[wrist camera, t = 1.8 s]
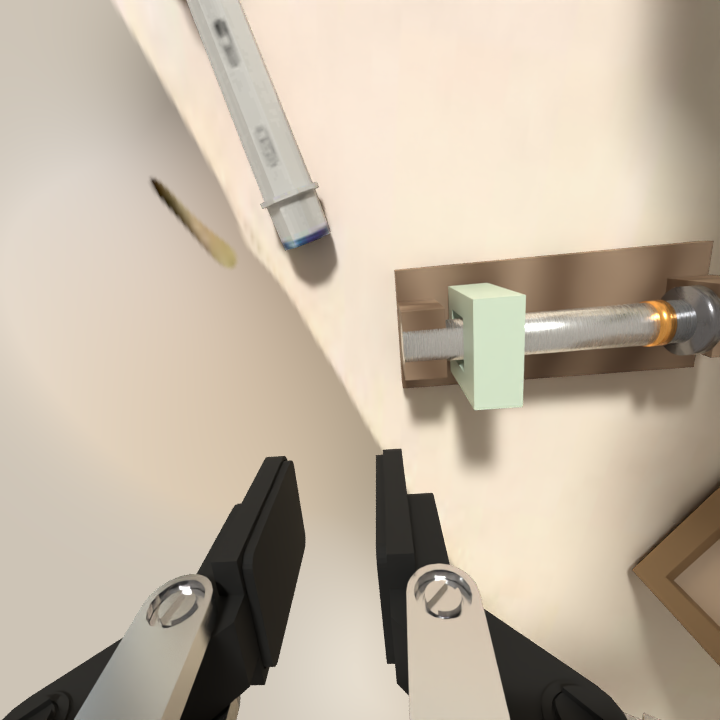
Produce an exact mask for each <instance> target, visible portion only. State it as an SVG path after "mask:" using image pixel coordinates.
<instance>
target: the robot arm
mask: <svg viewBox="0 0 720 720" xmlns="http://www.w3.org/2000/svg"><path fill="white" fill-rule="evenodd" d="M304 549H305V530H304V525H303V518H302V512H301V506H300V501H299V494H298V488H297V481H296V476H295V469H294V464H293V461H287V458H286V457H285V456H278V457H267V458H265V460H264V462H263V464H262V466H261V468H260V469H259V471H258V473H257V475H256V477H255V479H254V481H253V483H252V485H251V486H250V488H249V490H248V492H247V494H246V496H245V498H244V500H243V502H242V503H241V504H237V505H235V506H234V508H233V509H232V511H231V513H230V514H229V516H228V518H227V520H226V522H225V524H224V525H223V527H222V529H221V531H220V533H219V534H218V536H217V538H216V540H215V542H214V544H213V545H212V547H211V549H210V551H209V553H208V554H207V556H206V558H205V560H204V562H203V563H202V565H201V567H200V569H199V571H198V573H197V574H189V575H184V576H180V577H178V578H175V579H173V580H171V581H168V582H167V583H165V584H164V585H162V586H161V587H159V588H158V589H157V590H156V591H155V592H154V593H152V594H151V595H150V596H149V597H148V599H147V600H146V601H145V603H144V604H143V605H142V607H141V609H140V610H139V612H138V614H137V615H136V617H135V619H134V620H133V622H132V624H131V625H130V627H129V629H128V630H127V632H126V634H125V635H124V637H123V638H122V639H120V640H119V641H117V642H115V643H114V644H112V645H111V646H109V647H107V648H106V649H104V650H103V651H101V652H100V653H98V654H96V655H95V656H93V657H92V658H90V659H89V660H87V661H86V662H84V663H82V664H81V665H79V666H78V667H76V668H75V669H73V670H72V671H70V672H68V673H67V674H65V675H64V676H62V677H60V678H59V679H57V680H56V681H54V682H53V683H51V684H49V685H48V686H46V687H45V688H43V689H42V690H40V691H38V692H37V693H35V694H34V695H32V696H31V697H29V698H28V699H26V700H25V701H24V702H22V703H21V704H20V705H18V706H17V707H16V708H14V709H13V710H12V711H11V712H10V713H9V714H8V715H7V716H6V717H5V718H4V719H3V720H236V719H237V715H238V711H239V706H240V695H241V694H242V693H243V692H244V691H245V690H246V689H247V688H249V687H250V685H265V682H266V678H267V674H268V671H269V667H275V666H276V665H277V662H278V658H279V654H280V650H281V646H282V642H283V637H284V633H285V629H286V625H287V621H288V617H289V612H290V608H291V604H292V600H293V596H294V591H295V587H296V583H297V579H298V575H299V570H300V566H301V562H302V558H303V554H304ZM376 558H377V570H378V580H379V589H380V599H381V610H382V619H383V629H384V639H385V648H386V659H387V664H395V668H396V679H397V684H398V685H399V686H400V687H401V688H402V689H403V690H404V691H405V692H406V693H407V694H408V695H409V712H410V713H409V714H410V720H641V719H638V718H636V717H634V716H631V715H629V714H626V713H624V712H623V711H622V710H621V709H620V708H619V706H618V705H617V704H616V703H615V702H614V700H613V699H612V698H611V697H610V696H609V695H607V694H606V693H605V692H604V691H603V690H601V689H600V688H599V687H598V686H597V685H595V684H594V683H592V682H591V681H589V680H588V679H586V678H585V677H583V676H582V675H580V674H579V673H578V672H576V671H575V670H573V669H572V668H570V667H569V666H567V665H566V664H564V663H563V662H561V661H560V660H558V659H557V658H556V657H554V656H553V655H551V654H550V653H548V652H547V651H545V650H544V649H542V648H541V647H539V646H538V645H536V644H535V643H533V642H532V641H531V640H529V639H528V638H526V637H525V636H523V635H522V634H520V633H519V632H517V631H516V630H514V629H513V628H511V627H510V626H509V625H507V624H506V623H504V622H503V621H501V620H500V619H498V618H497V617H495V616H494V615H492V614H491V613H489V612H488V611H486V610H485V609H484V607H483V603H482V599H481V595H480V592H479V589H478V587H477V584H476V583H475V581H474V580H473V579H472V578H471V577H470V575H468V574H467V573H466V572H464V571H463V570H461V569H460V568H457V567H454V566H452V565H450V564H449V560H448V556H447V551H446V547H445V543H444V538H443V534H442V530H441V525H440V521H439V517H438V512H437V508H436V504H435V499H434V495H433V493H422V494H407V491H406V483H405V475H404V467H403V458H402V450H401V449H388V450H383V455H376ZM642 720H660V719H658V718H655V717H653V716H650V715H648V714H645V713H643V718H642Z"/></svg>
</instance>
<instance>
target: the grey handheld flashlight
mask: <svg viewBox="0 0 720 720" xmlns="http://www.w3.org/2000/svg"><path fill="white" fill-rule="evenodd" d="M186 1H187V3H188V6H189V8H190V11H191V13H192V16H193V19H194V21H195V24H196V26H197V29H198V32H199V34H200V37H201V39H202V42H203V44H204V47H205V50H206V52H207V55H208V57H209V60H210V62H211V65H212V68H213V70H214V73H215V75H216V78H217V81H218V83H219V86H220V88H221V91H222V93H223V96H224V99H225V101H226V104H227V106H228V109H229V111H230V114H231V117H232V119H233V122H234V124H235V127H236V130H237V132H238V135H239V137H240V140H241V142H242V145H243V148H244V150H245V153H246V155H247V158H248V161H249V163H250V166H251V168H252V171H253V173H254V176H255V179H256V181H257V184H258V186H259V189H260V191H261V194H262V197H263V199H264V203H262V204H260V205H261V207H262V209H264V208H267V209H268V211H269V214H270V216H271V218H272V221H273V223H274V225H275V228H276V230H277V232H278V235H279V237H280V239H281V242H282V244H283V246H284V249H285V251H286V250H289V249H293V248H296V247H299V246H301V245H304V244H307V243H309V242H312V241H314V240H317V239H319V238H321V237H323V236H325V235H328V234H330V232H331V231H330V228H329V226H328V223H327V220H326V217H325V215H324V212H323V209H322V207H321V204H320V201H319V199H318V196H317V193H316V191H315V189H316V188H318V187H319V186H318V183H316V182H314V183H312V180H311V178H310V175H309V173H308V170H307V168H306V165H305V163H304V160H303V158H302V155H301V153H300V150H299V148H298V145H297V143H296V140H295V138H294V135H293V133H292V130H291V128H290V125H289V123H288V120H287V118H286V115H285V113H284V110H283V108H282V105H281V103H280V100H279V98H278V95H277V93H276V90H275V88H274V85H273V83H272V80H271V78H270V75H269V73H268V70H267V68H266V65H265V63H264V60H263V58H262V55H261V53H260V50H259V48H258V45H257V43H256V40H255V38H254V35H253V33H252V30H251V28H250V25H249V23H248V20H247V18H246V15H245V13H244V10H243V8H242V5H241V3H240V0H186Z"/></svg>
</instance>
